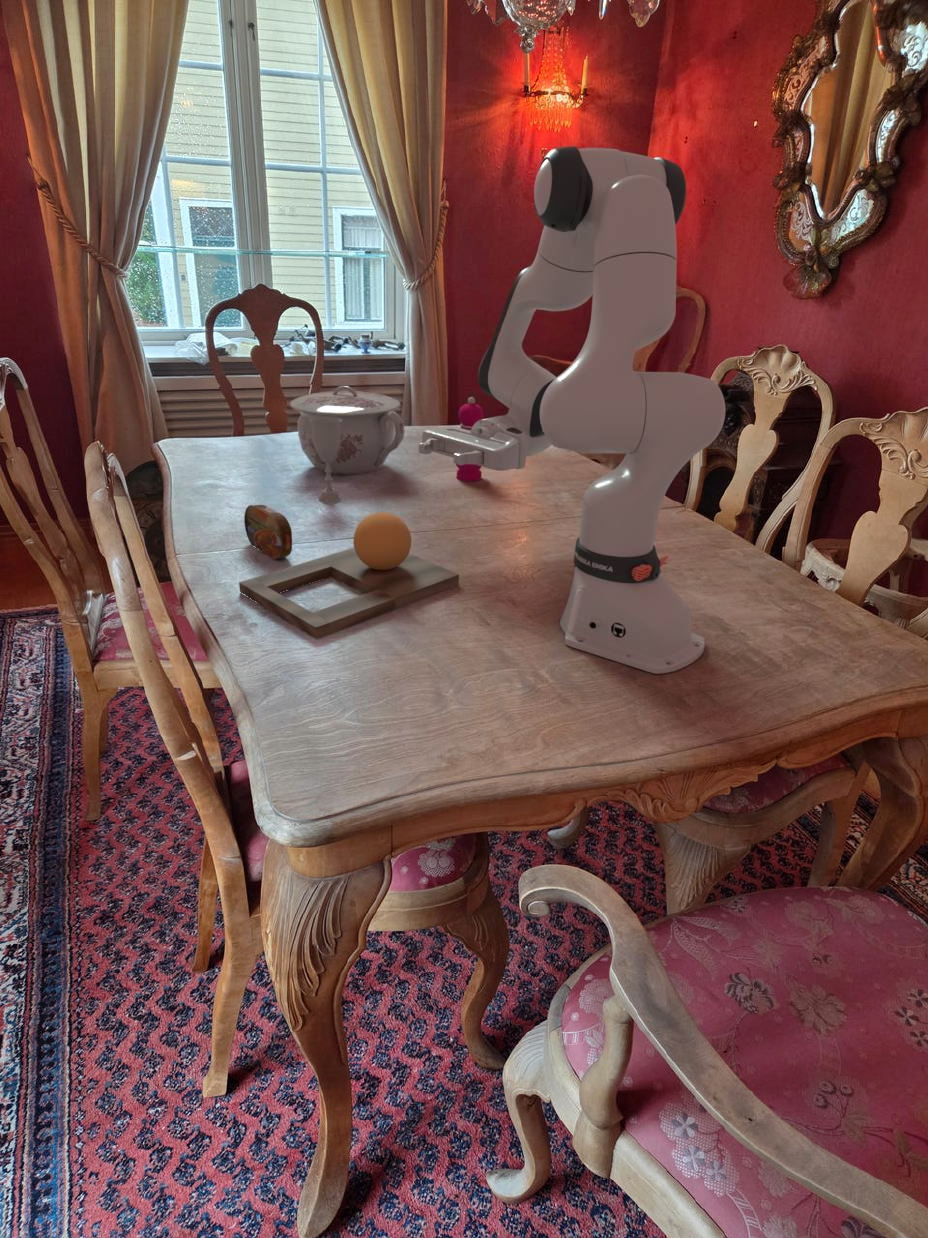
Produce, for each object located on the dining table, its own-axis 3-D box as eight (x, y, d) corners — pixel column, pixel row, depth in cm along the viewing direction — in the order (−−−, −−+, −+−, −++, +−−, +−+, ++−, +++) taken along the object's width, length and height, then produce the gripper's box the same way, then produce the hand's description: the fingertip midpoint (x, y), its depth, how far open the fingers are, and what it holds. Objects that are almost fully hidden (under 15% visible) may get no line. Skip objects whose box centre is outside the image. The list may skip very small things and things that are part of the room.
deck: (458, 585, 134) (459, 574, 133) (316, 639, 115) (316, 627, 114) (378, 549, 148) (378, 540, 147) (240, 593, 128) (238, 582, 128)
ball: (423, 568, 135) (423, 514, 130) (379, 584, 129) (377, 528, 124) (386, 552, 141) (385, 500, 137) (343, 566, 135) (340, 512, 130)
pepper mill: (480, 483, 189) (483, 400, 180) (451, 480, 190) (453, 398, 181) (485, 475, 195) (488, 395, 186) (457, 472, 196) (459, 393, 187)
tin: (244, 541, 150) (240, 500, 146) (259, 538, 152) (255, 497, 148) (281, 565, 140) (277, 522, 136) (297, 562, 141) (293, 518, 138)
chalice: (307, 501, 173) (302, 420, 165) (326, 493, 178) (321, 415, 170) (333, 506, 170) (329, 425, 162) (351, 498, 175) (348, 419, 167)
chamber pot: (289, 457, 205) (282, 377, 196) (389, 452, 213) (387, 375, 204) (301, 487, 182) (294, 398, 172) (413, 480, 189) (413, 395, 180)
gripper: (453, 415, 149) (399, 425, 140) (533, 435, 136) (480, 448, 127) (452, 447, 152) (400, 459, 143) (531, 470, 139) (478, 484, 130)
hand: (438, 454), depth 135 cm, fingers open, 8 cm apart
